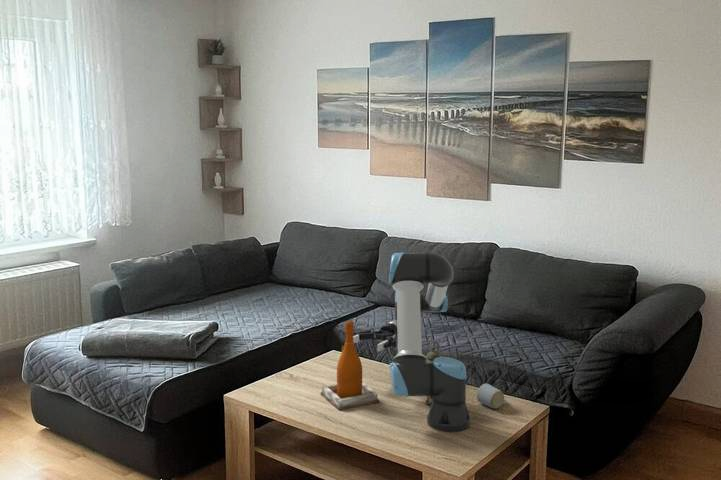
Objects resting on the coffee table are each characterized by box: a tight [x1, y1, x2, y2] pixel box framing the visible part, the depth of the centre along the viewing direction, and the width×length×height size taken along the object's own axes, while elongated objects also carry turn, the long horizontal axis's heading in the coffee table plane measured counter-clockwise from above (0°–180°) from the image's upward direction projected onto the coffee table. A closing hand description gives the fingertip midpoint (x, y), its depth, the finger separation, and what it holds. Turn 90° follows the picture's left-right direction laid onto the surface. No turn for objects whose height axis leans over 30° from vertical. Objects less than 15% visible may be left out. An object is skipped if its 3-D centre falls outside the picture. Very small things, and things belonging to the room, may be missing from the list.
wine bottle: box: [336, 320, 363, 398], centre depth 291 cm, size 10×10×30 cm
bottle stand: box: [320, 381, 380, 411], centre depth 294 cm, size 17×17×4 cm
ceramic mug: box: [476, 383, 507, 410], centre depth 288 cm, size 11×8×8 cm
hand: (363, 345), depth 299 cm, fingers open, 13 cm apart
